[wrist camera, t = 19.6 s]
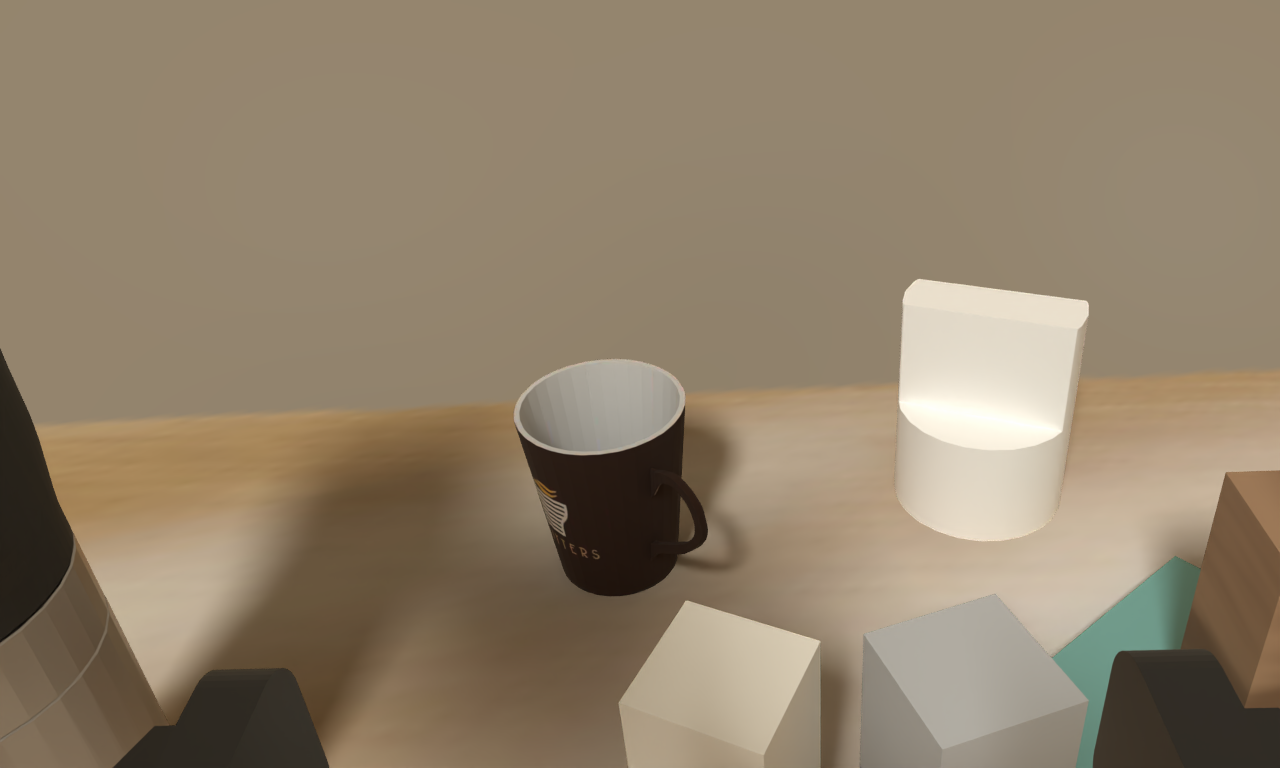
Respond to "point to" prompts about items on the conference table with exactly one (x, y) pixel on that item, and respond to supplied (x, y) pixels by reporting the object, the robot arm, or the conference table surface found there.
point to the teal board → (1128, 639)
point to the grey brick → (966, 694)
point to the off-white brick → (725, 696)
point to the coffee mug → (610, 471)
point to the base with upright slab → (985, 407)
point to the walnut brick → (1242, 588)
